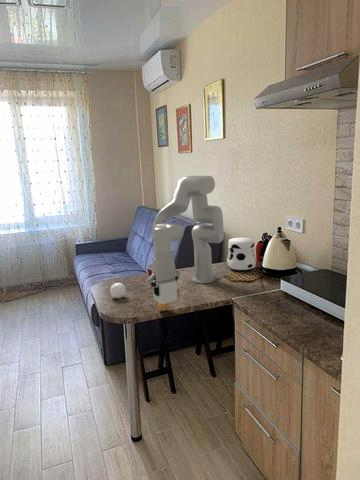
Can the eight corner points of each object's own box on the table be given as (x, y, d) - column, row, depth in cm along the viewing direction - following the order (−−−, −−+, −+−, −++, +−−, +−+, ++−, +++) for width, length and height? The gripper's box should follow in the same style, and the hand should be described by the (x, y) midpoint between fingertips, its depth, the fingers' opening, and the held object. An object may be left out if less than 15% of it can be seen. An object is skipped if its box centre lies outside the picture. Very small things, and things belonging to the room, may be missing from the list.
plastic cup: (164, 291, 192) (163, 269, 189) (144, 290, 194) (143, 268, 192) (169, 284, 202) (168, 263, 200) (150, 283, 205) (149, 263, 202)
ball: (171, 305, 165) (168, 311, 168) (166, 296, 168) (164, 303, 171) (162, 307, 163) (159, 314, 166) (157, 299, 165) (154, 305, 169)
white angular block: (167, 295, 169) (167, 277, 168) (177, 300, 163) (176, 281, 161) (153, 299, 165) (152, 280, 163) (162, 304, 159) (161, 285, 157)
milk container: (261, 268, 225) (261, 239, 221) (244, 274, 213) (244, 244, 210) (238, 263, 237) (238, 235, 233) (221, 269, 226) (220, 240, 222)
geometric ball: (121, 301, 188) (130, 287, 189) (117, 301, 180) (126, 287, 181) (109, 293, 189) (118, 280, 190) (105, 293, 181) (113, 279, 182)
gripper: (175, 250, 168) (176, 286, 171) (141, 256, 158) (143, 295, 162) (184, 253, 161) (185, 291, 165) (150, 260, 152) (152, 300, 156)
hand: (165, 293), depth 163 cm, fingers closed on white angular block, 7 cm apart
